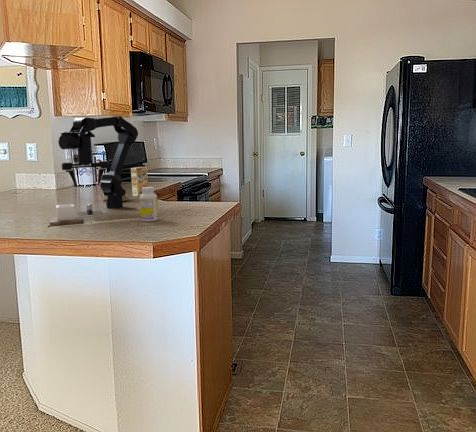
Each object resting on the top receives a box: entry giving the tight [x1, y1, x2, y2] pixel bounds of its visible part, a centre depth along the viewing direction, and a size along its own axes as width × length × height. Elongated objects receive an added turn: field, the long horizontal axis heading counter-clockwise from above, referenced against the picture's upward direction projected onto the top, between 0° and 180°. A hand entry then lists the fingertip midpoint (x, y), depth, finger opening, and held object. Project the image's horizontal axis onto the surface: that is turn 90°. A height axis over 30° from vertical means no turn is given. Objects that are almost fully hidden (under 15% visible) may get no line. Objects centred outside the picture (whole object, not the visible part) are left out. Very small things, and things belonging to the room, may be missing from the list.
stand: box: [76, 203, 104, 217], centre depth 200 cm, size 10×10×4 cm
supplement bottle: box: [139, 186, 159, 223], centre depth 185 cm, size 7×7×13 cm
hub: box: [48, 214, 85, 227], centre depth 184 cm, size 12×12×5 cm
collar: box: [55, 203, 76, 221], centre depth 184 cm, size 6×6×5 cm
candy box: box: [130, 166, 149, 197], centre depth 262 cm, size 9×4×15 cm, turn 150°
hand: (87, 186), depth 201 cm, fingers open, 9 cm apart
